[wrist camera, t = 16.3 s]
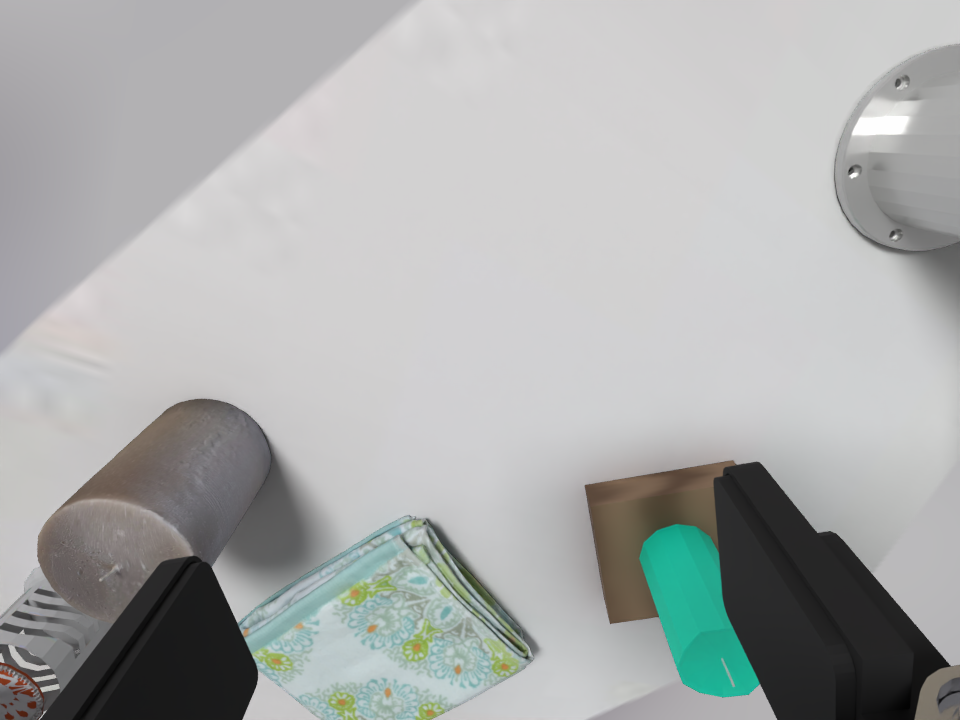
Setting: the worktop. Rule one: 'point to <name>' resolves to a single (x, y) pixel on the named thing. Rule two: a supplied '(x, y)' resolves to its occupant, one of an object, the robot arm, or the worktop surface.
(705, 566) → the candle
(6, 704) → the french press
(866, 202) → the robot arm
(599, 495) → the walnut base
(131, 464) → the pillar candle
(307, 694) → the towel
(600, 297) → the worktop surface
